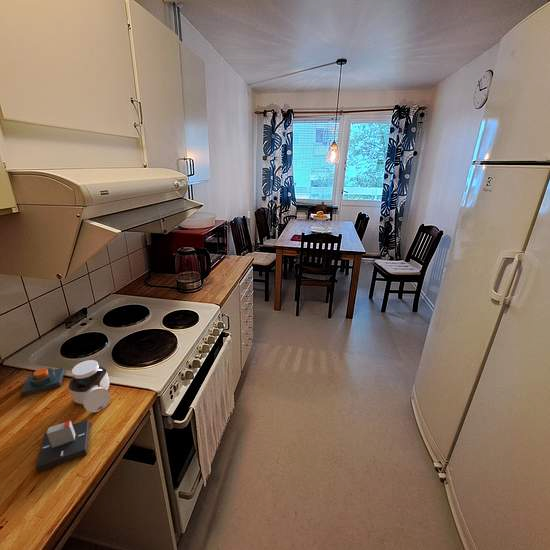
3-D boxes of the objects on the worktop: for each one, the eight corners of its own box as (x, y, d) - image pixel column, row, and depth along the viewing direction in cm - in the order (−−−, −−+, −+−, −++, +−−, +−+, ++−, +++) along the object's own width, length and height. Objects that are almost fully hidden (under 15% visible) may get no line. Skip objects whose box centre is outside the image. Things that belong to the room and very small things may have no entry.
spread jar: (94, 383, 96) (87, 355, 92) (124, 388, 94) (118, 360, 90) (64, 412, 85) (53, 381, 81) (97, 418, 84) (88, 387, 79)
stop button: (33, 381, 92) (32, 376, 91) (36, 374, 95) (34, 369, 94) (47, 377, 93) (46, 373, 93) (49, 370, 96) (48, 366, 96)
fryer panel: (39, 473, 69) (35, 466, 68) (47, 439, 77) (44, 432, 76) (87, 455, 73) (85, 448, 72) (90, 425, 81) (88, 418, 80)
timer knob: (52, 448, 72) (46, 433, 70) (53, 441, 74) (47, 427, 72) (74, 440, 74) (69, 425, 72) (75, 434, 76) (70, 419, 74)
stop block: (23, 397, 90) (19, 388, 89) (29, 381, 97) (25, 371, 95) (61, 387, 94) (58, 377, 93) (64, 372, 101) (61, 363, 99)
